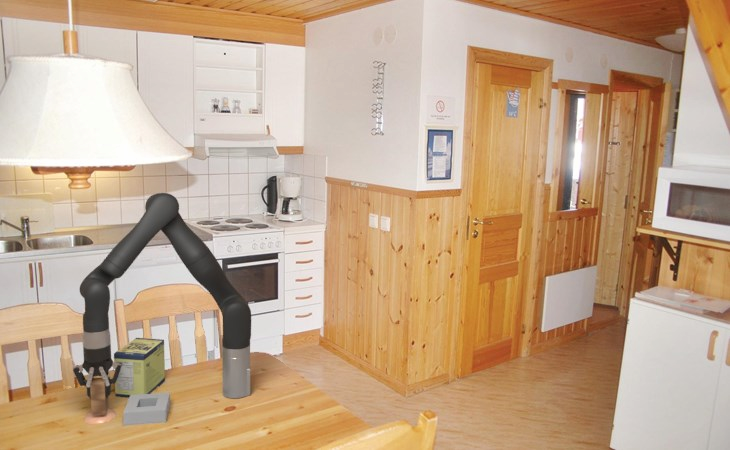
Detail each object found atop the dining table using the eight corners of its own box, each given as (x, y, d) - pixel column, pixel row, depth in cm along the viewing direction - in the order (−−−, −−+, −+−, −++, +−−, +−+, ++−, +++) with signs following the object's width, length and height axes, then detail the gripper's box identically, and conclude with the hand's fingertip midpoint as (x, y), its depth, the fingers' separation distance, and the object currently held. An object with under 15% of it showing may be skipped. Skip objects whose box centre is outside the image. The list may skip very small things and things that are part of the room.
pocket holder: (170, 405, 184) (169, 392, 183) (165, 423, 172) (165, 410, 172) (130, 408, 181) (130, 395, 181) (123, 427, 170) (123, 413, 169)
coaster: (118, 409, 180) (118, 407, 180) (112, 423, 171) (112, 421, 171) (88, 412, 178) (87, 409, 178) (80, 426, 169) (80, 423, 169)
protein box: (165, 380, 202) (164, 338, 200) (144, 400, 187) (143, 355, 184) (137, 378, 203) (136, 337, 201) (114, 398, 188) (112, 353, 185)
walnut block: (108, 407, 177) (107, 377, 175) (105, 413, 173) (104, 382, 171) (94, 408, 176) (93, 378, 174) (91, 414, 172) (90, 383, 170)
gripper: (124, 337, 176) (126, 389, 179) (74, 340, 173) (77, 393, 176) (119, 346, 169) (121, 400, 172) (67, 349, 166) (70, 404, 169)
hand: (99, 396), depth 174 cm, fingers closed on walnut block, 4 cm apart
